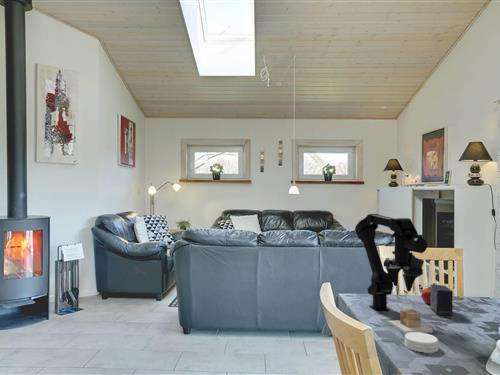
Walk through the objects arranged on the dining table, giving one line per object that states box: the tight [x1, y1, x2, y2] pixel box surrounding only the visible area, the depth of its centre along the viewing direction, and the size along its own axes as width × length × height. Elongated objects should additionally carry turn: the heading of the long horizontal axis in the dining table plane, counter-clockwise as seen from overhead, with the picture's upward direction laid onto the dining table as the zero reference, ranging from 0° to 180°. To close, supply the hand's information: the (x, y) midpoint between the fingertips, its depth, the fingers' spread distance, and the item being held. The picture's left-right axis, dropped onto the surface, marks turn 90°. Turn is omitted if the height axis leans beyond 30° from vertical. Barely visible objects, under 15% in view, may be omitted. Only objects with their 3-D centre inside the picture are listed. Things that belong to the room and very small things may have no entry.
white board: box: [388, 319, 434, 335], centre depth 139 cm, size 11×11×1 cm
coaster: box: [404, 332, 440, 354], centre depth 122 cm, size 10×10×4 cm
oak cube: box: [399, 308, 421, 328], centre depth 140 cm, size 5×5×5 cm
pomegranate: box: [420, 282, 437, 305], centre depth 172 cm, size 10×10×9 cm
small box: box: [429, 284, 454, 317], centre depth 160 cm, size 11×6×10 cm, turn 168°
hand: (402, 288), depth 150 cm, fingers open, 9 cm apart
